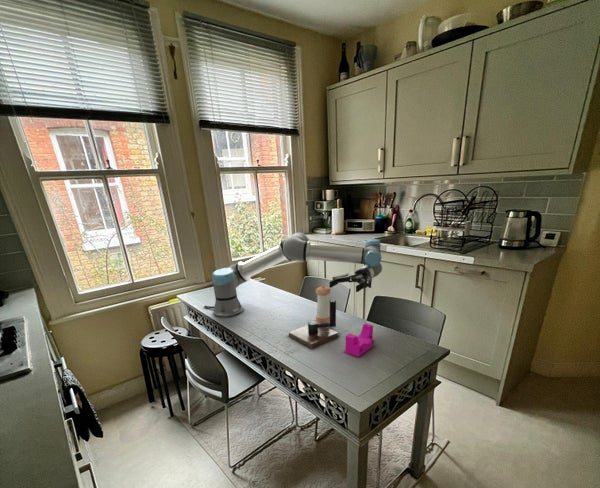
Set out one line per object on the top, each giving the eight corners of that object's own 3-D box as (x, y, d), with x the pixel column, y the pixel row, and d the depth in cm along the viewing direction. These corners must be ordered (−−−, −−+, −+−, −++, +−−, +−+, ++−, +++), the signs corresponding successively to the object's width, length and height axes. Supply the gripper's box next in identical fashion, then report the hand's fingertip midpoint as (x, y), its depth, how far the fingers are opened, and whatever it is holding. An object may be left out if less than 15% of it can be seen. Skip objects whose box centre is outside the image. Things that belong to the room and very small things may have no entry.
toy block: (358, 356, 126) (358, 340, 123) (345, 352, 130) (345, 335, 127) (377, 342, 136) (378, 327, 133) (364, 338, 140) (365, 323, 137)
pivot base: (288, 336, 146) (288, 331, 145) (314, 325, 155) (314, 321, 154) (311, 348, 134) (311, 343, 133) (338, 336, 143) (338, 332, 142)
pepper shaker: (333, 321, 158) (333, 285, 150) (324, 326, 153) (323, 289, 145) (322, 318, 162) (321, 282, 154) (313, 322, 158) (312, 286, 150)
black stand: (308, 334, 142) (307, 303, 136) (308, 330, 146) (306, 300, 140) (336, 333, 141) (336, 302, 135) (335, 329, 145) (335, 298, 139)
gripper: (387, 285, 153) (368, 299, 137) (341, 279, 167) (320, 290, 151) (388, 270, 150) (368, 282, 134) (341, 265, 164) (319, 275, 148)
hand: (343, 286), depth 143 cm, fingers open, 13 cm apart
